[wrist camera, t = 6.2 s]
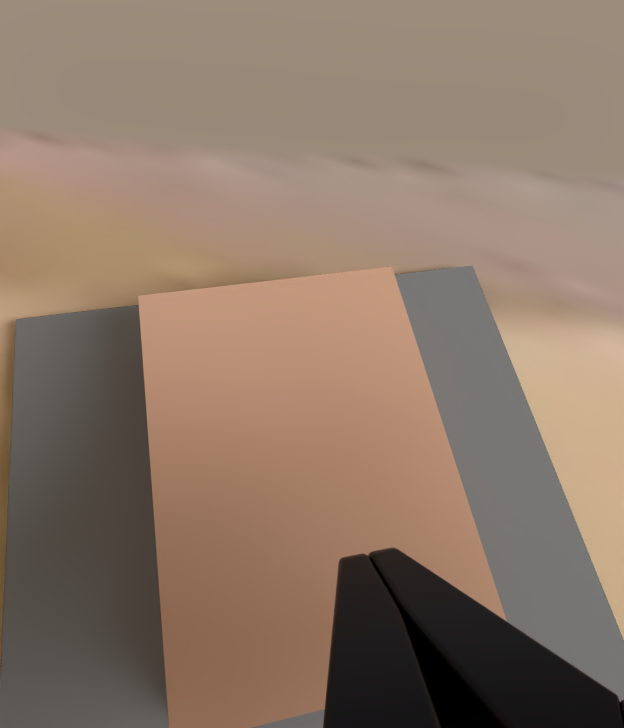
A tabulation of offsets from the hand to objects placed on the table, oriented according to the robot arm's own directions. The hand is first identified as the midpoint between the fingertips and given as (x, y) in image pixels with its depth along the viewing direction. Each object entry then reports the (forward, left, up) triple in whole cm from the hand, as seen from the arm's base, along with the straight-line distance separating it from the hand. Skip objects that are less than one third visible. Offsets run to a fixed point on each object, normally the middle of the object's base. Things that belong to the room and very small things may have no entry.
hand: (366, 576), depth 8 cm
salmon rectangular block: (-1, -1, -5) cm, 5 cm away
